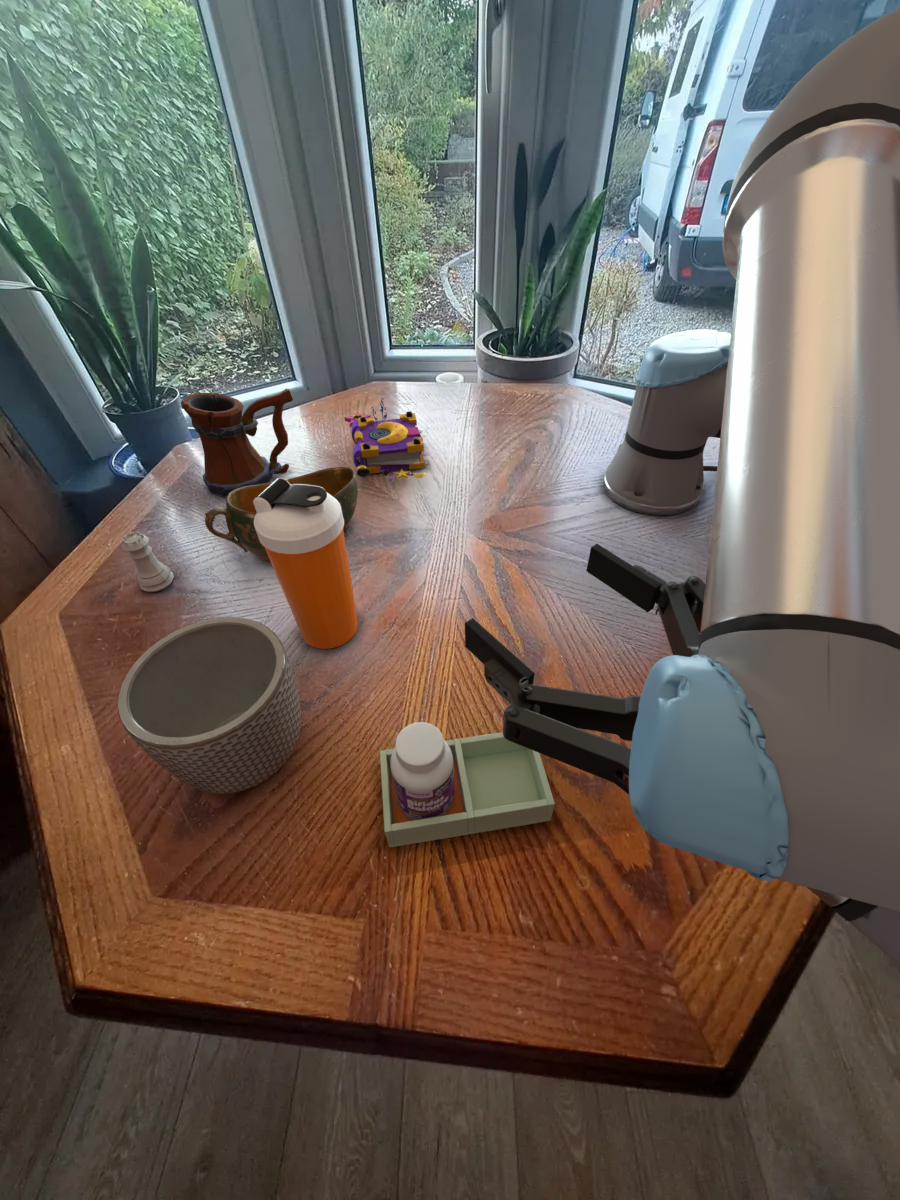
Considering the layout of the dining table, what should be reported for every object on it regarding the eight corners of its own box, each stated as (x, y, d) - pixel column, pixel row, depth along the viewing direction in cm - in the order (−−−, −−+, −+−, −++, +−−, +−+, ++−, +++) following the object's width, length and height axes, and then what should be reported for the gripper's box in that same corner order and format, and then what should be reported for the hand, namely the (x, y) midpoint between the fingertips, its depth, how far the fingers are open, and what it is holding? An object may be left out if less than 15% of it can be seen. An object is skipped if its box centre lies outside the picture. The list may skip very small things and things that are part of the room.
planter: (325, 794, 50) (291, 719, 41) (172, 838, 47) (100, 769, 38) (310, 682, 59) (281, 601, 50) (183, 713, 57) (127, 635, 48)
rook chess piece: (182, 577, 73) (158, 531, 68) (157, 597, 70) (130, 551, 65) (159, 569, 75) (133, 523, 69) (134, 588, 72) (105, 542, 66)
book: (350, 494, 87) (337, 425, 79) (346, 426, 105) (335, 364, 96) (436, 483, 89) (432, 415, 80) (417, 419, 106) (413, 357, 98)
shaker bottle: (351, 660, 62) (316, 522, 48) (282, 650, 63) (227, 513, 49) (374, 607, 68) (349, 471, 54) (310, 599, 69) (269, 465, 55)
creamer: (236, 523, 82) (213, 466, 75) (363, 508, 84) (352, 451, 77) (224, 577, 73) (197, 518, 66) (367, 559, 75) (355, 499, 68)
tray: (529, 745, 53) (531, 727, 50) (550, 820, 47) (555, 804, 45) (383, 768, 52) (379, 750, 49) (389, 847, 46) (384, 832, 44)
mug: (307, 453, 98) (287, 371, 87) (314, 484, 90) (293, 399, 79) (207, 470, 94) (174, 387, 84) (205, 504, 86) (168, 418, 76)
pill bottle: (412, 836, 46) (401, 785, 39) (389, 785, 50) (375, 731, 43) (465, 807, 48) (464, 754, 41) (439, 760, 51) (434, 704, 44)
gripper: (641, 967, 27) (411, 700, 39) (861, 711, 38) (625, 563, 50) (681, 929, 22) (401, 635, 34) (925, 643, 32) (643, 496, 44)
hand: (533, 592), depth 42 cm, fingers open, 13 cm apart
